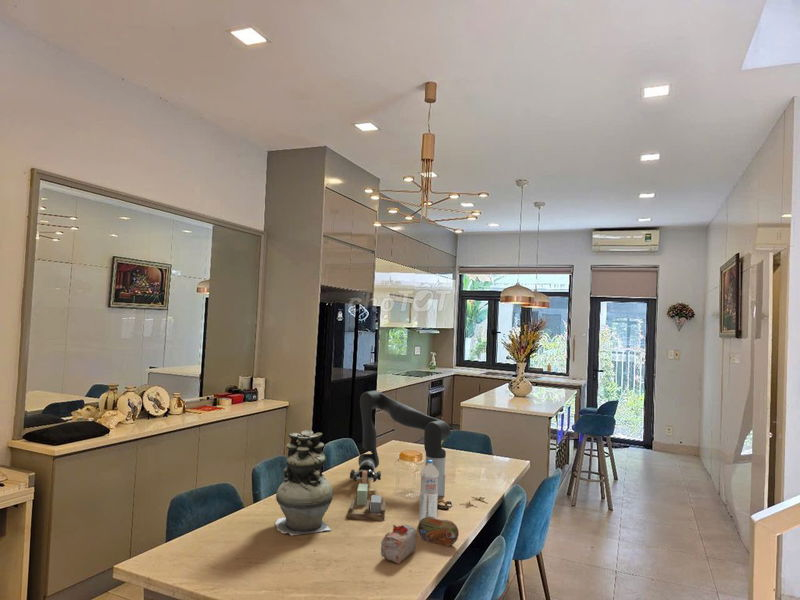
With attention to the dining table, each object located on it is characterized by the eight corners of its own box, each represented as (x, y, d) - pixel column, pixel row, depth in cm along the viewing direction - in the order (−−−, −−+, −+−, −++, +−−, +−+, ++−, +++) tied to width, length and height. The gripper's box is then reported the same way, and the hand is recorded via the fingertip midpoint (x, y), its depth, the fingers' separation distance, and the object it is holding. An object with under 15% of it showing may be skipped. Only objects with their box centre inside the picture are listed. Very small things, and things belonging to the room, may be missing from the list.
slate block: (380, 510, 221) (381, 495, 221) (380, 517, 212) (380, 502, 212) (371, 509, 221) (371, 495, 221) (370, 517, 212) (370, 502, 212)
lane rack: (385, 509, 221) (385, 501, 221) (384, 520, 209) (384, 511, 209) (351, 507, 221) (352, 499, 221) (348, 518, 209) (349, 509, 209)
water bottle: (438, 524, 207) (441, 459, 208) (433, 530, 201) (436, 463, 202) (421, 521, 209) (424, 457, 211) (416, 527, 203) (419, 461, 204)
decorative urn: (282, 542, 185) (287, 441, 186) (268, 519, 204) (272, 428, 205) (339, 532, 195) (344, 437, 196) (320, 511, 214) (325, 424, 214)
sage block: (368, 493, 241) (369, 470, 242) (365, 505, 225) (367, 481, 225) (359, 492, 241) (360, 470, 242) (356, 504, 225) (357, 481, 225)
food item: (400, 566, 169) (401, 535, 170) (378, 560, 173) (379, 530, 173) (418, 551, 182) (419, 522, 182) (397, 546, 185) (398, 517, 186)
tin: (417, 539, 192) (418, 515, 192) (420, 536, 195) (421, 513, 195) (455, 549, 185) (456, 524, 185) (459, 546, 188) (460, 521, 188)
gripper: (352, 461, 257) (349, 470, 240) (381, 462, 257) (380, 471, 240) (351, 476, 256) (348, 487, 240) (381, 478, 256) (379, 488, 240)
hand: (364, 479), depth 240 cm, fingers open, 8 cm apart
